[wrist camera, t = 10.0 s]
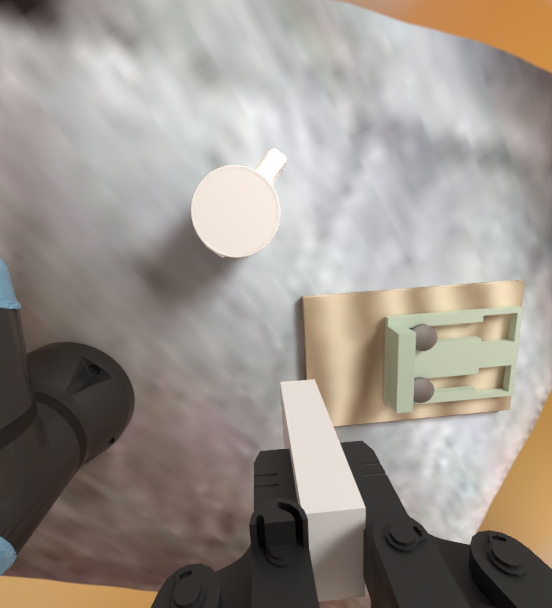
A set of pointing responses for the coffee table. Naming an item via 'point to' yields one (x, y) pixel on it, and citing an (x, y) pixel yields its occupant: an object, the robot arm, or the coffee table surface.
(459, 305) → the board
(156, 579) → the coffee table surface
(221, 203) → the mug
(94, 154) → the coffee table surface
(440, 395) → the panel
